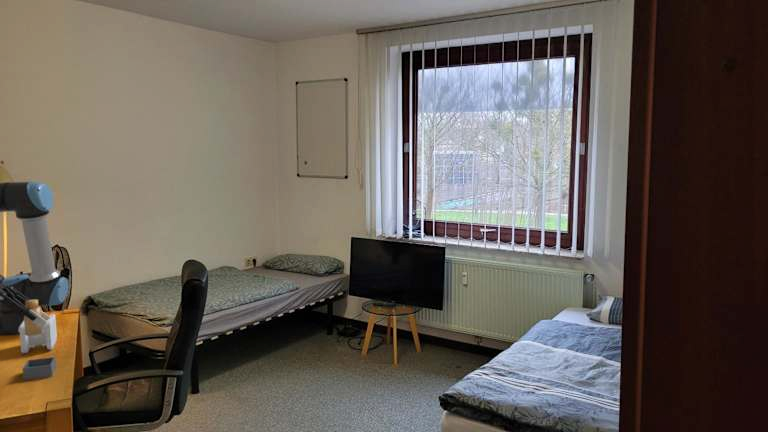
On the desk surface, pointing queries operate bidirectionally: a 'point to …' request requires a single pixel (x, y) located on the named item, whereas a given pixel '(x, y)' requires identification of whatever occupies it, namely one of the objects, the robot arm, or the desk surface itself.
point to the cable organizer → (39, 336)
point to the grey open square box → (39, 368)
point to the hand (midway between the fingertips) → (45, 322)
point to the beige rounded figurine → (29, 325)
